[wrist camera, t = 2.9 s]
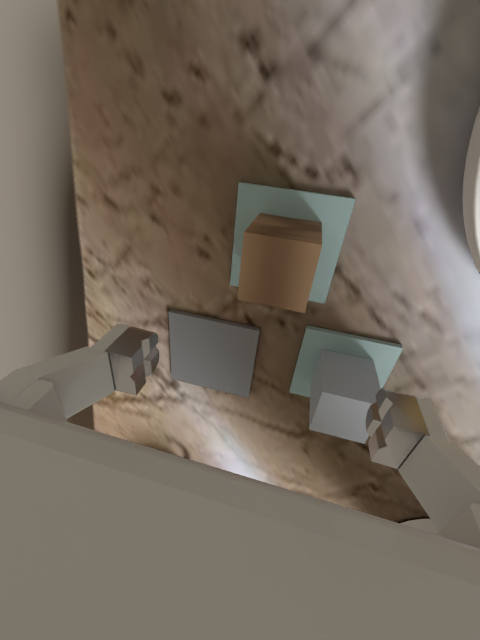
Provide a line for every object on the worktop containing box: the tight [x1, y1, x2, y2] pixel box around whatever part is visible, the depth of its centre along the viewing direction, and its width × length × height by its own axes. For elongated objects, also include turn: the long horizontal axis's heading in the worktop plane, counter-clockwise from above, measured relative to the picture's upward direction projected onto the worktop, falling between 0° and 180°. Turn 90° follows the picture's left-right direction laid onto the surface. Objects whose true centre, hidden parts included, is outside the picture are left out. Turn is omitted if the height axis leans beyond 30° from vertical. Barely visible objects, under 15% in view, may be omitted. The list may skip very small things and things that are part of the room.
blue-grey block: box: [309, 349, 381, 444], centre depth 27 cm, size 5×5×6 cm
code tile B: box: [289, 325, 403, 397], centre depth 30 cm, size 9×9×1 cm
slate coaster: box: [169, 309, 260, 398], centre depth 33 cm, size 10×10×1 cm
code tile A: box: [230, 182, 355, 304], centre depth 25 cm, size 9×9×1 cm
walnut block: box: [237, 213, 322, 313], centre depth 22 cm, size 5×5×6 cm
